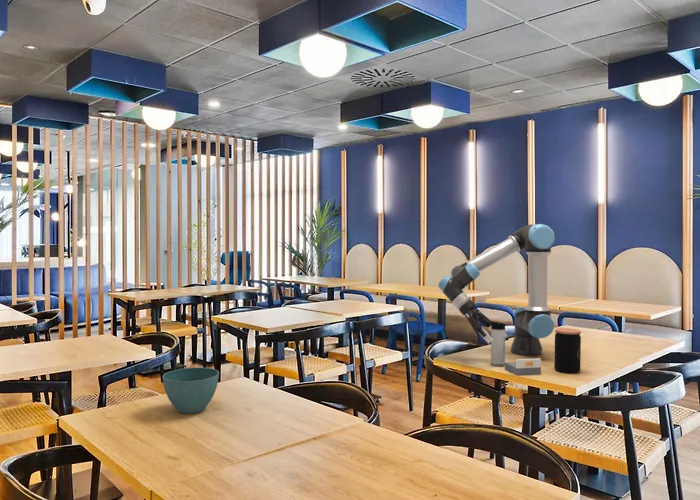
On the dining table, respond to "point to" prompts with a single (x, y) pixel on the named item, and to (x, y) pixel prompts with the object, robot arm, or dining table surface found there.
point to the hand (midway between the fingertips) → (495, 339)
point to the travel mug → (497, 344)
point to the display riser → (524, 366)
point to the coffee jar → (567, 350)
